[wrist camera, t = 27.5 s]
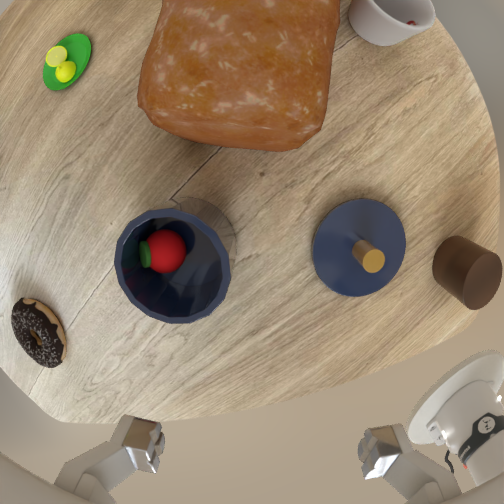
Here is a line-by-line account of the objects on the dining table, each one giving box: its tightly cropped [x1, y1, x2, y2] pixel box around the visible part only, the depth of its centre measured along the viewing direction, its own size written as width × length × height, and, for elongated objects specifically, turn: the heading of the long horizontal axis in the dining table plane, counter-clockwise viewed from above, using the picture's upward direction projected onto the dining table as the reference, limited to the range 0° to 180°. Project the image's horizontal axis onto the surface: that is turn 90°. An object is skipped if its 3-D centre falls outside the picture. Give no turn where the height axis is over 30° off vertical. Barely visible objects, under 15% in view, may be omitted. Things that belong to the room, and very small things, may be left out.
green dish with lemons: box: [43, 34, 91, 90], centre depth 22 cm, size 8×8×3 cm
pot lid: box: [312, 198, 406, 297], centre depth 28 cm, size 11×11×5 cm
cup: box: [348, 0, 435, 46], centre depth 18 cm, size 11×8×8 cm
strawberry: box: [139, 229, 186, 273], centre depth 28 cm, size 4×4×5 cm
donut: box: [11, 298, 66, 368], centre depth 33 cm, size 11×12×4 cm
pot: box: [114, 197, 237, 324], centre depth 27 cm, size 10×10×8 cm
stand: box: [433, 236, 502, 310], centre depth 27 cm, size 7×7×7 cm
